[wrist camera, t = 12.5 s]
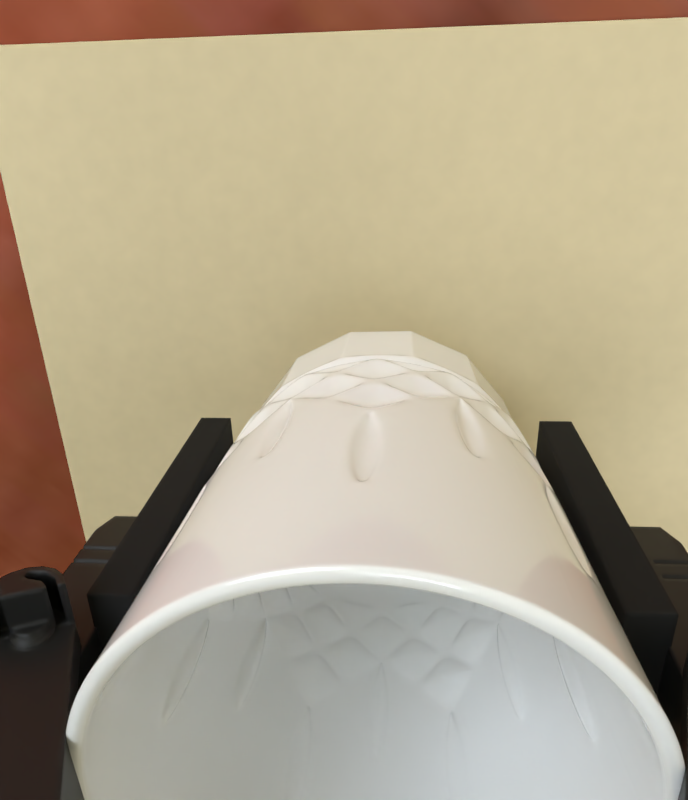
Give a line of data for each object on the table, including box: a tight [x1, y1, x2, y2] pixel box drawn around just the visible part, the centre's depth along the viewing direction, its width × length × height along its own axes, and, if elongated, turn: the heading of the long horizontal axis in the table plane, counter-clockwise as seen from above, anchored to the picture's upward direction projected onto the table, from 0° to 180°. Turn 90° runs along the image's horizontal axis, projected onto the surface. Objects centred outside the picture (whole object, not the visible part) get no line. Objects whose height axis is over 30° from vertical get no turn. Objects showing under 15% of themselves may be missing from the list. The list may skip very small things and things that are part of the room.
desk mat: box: [0, 17, 688, 553], centre depth 19 cm, size 20×20×1 cm
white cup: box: [66, 331, 686, 800], centre depth 13 cm, size 8×8×10 cm
